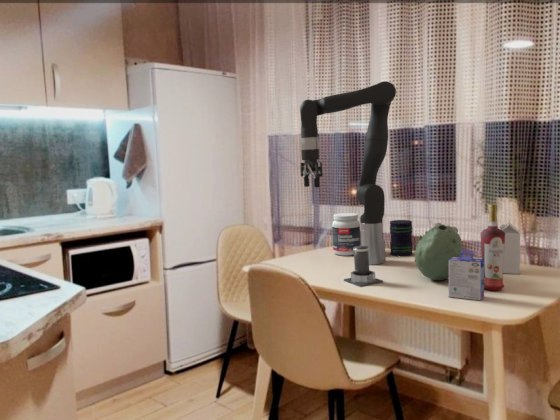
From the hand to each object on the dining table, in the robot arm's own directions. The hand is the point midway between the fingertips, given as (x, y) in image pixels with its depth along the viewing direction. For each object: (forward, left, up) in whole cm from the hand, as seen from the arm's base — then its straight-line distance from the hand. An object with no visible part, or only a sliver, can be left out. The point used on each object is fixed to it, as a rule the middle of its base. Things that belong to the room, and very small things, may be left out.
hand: (311, 187), depth 205 cm
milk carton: (-50, +57, -33) cm, 83 cm away
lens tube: (+1, +36, -32) cm, 48 cm away
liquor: (-27, +69, -33) cm, 81 cm away
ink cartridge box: (-14, +70, -33) cm, 79 cm away
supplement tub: (-22, -8, -33) cm, 41 cm away
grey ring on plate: (+1, +36, -33) cm, 49 cm away
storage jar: (-40, +9, -33) cm, 53 cm away
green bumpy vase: (-22, +50, -33) cm, 64 cm away
